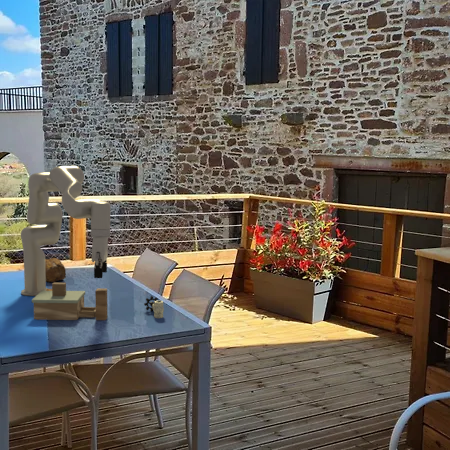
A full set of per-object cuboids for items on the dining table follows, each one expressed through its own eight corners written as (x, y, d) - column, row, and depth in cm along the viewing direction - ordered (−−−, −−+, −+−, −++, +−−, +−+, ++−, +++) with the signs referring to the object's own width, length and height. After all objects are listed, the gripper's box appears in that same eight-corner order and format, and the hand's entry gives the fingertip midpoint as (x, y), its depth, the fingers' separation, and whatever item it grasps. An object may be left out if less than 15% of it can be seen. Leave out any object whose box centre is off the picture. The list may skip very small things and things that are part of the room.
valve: (168, 317, 248) (158, 310, 259) (168, 302, 247) (158, 295, 258) (152, 319, 245) (143, 311, 256) (152, 303, 245) (143, 296, 255)
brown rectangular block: (97, 317, 247) (97, 288, 245) (107, 317, 247) (107, 288, 245) (95, 320, 243) (95, 290, 241) (105, 320, 243) (105, 291, 241)
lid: (42, 293, 256) (41, 278, 255) (85, 293, 256) (85, 279, 255) (31, 302, 241) (31, 287, 240) (77, 303, 241) (77, 288, 240)
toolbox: (43, 309, 256) (43, 293, 255) (99, 310, 257) (99, 294, 256) (34, 319, 242) (33, 302, 241) (93, 320, 243) (93, 303, 242)
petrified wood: (70, 281, 307) (65, 262, 305) (44, 288, 302) (39, 269, 299) (62, 272, 324) (57, 254, 322) (37, 279, 319) (33, 261, 317)
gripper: (95, 229, 249) (95, 269, 251) (86, 236, 231) (86, 280, 234) (113, 229, 249) (113, 270, 251) (106, 236, 232) (106, 280, 234)
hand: (100, 275), depth 243 cm, fingers open, 9 cm apart
